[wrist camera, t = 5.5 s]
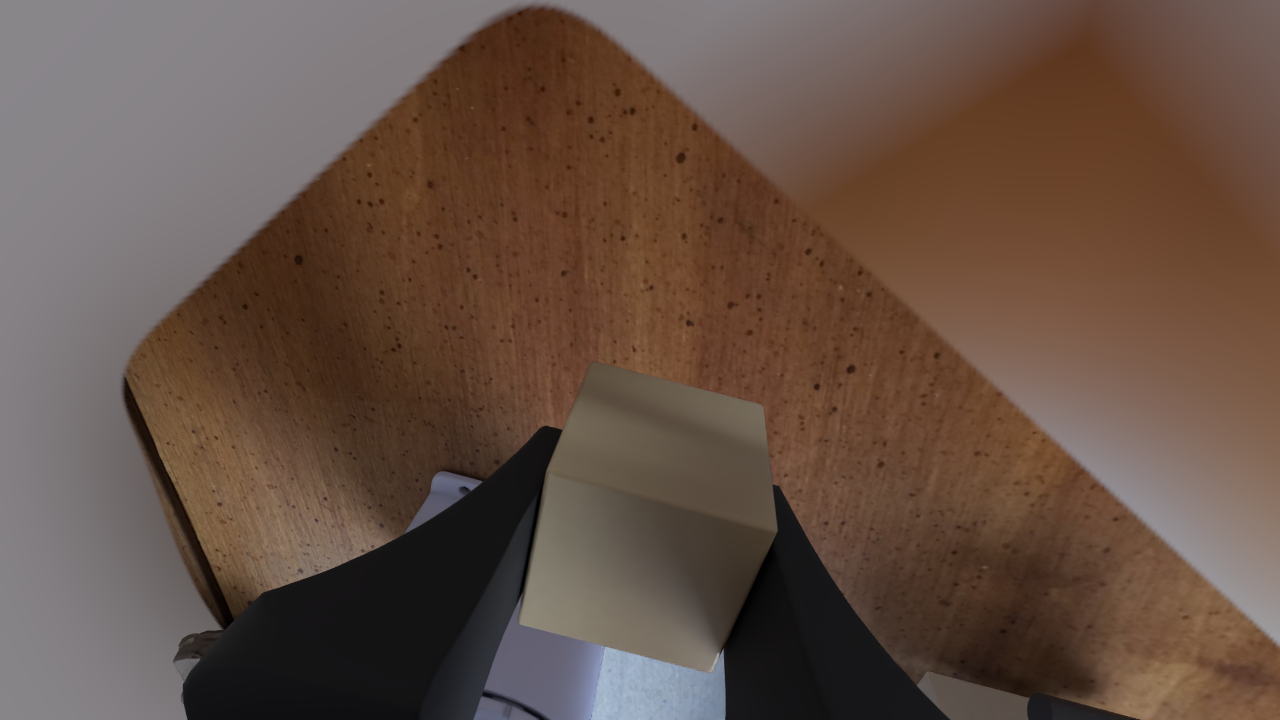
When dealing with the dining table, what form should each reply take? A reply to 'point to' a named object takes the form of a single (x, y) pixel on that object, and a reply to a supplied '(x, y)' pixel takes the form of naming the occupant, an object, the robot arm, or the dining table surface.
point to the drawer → (1003, 703)
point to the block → (651, 519)
